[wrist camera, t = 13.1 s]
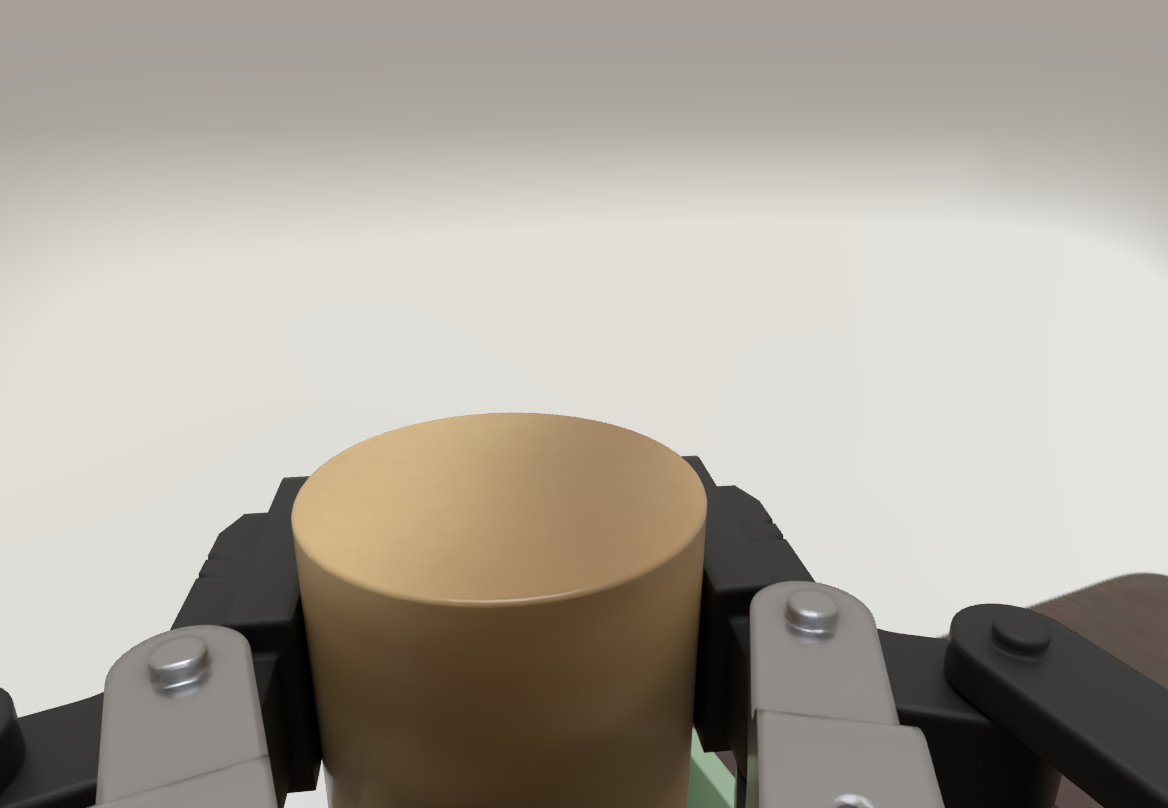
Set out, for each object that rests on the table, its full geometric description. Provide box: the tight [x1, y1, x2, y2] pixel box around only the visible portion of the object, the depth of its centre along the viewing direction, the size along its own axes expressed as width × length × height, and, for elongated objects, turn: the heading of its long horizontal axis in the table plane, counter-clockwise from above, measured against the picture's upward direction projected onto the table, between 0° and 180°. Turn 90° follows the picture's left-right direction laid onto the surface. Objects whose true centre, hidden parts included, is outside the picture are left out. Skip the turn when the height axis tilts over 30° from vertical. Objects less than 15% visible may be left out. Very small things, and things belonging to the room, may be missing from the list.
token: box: [291, 413, 707, 808], centre depth 11 cm, size 4×4×8 cm
